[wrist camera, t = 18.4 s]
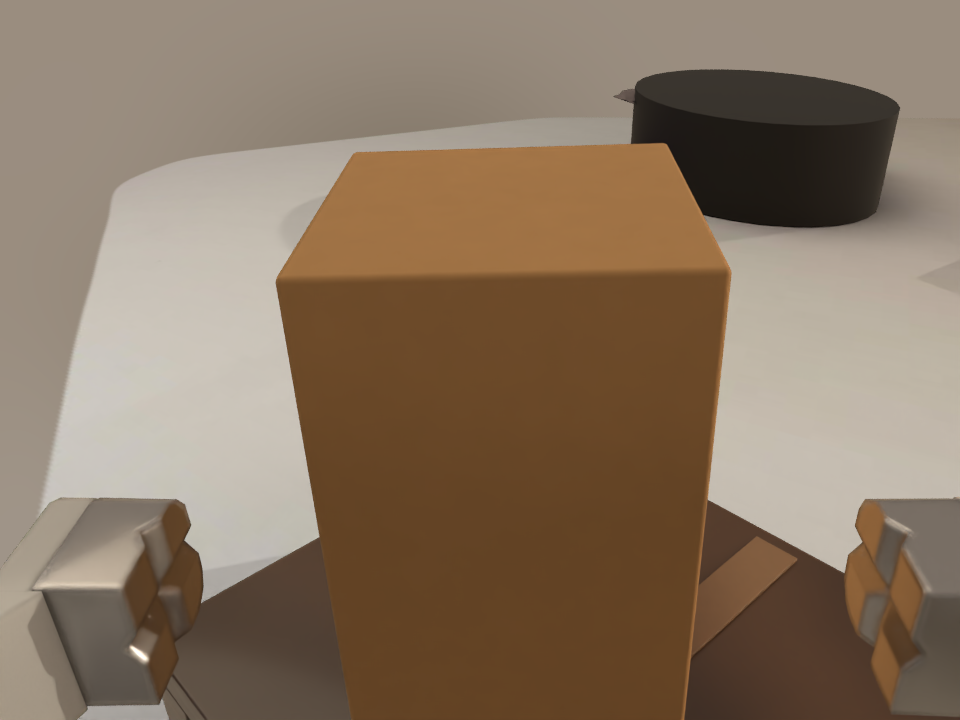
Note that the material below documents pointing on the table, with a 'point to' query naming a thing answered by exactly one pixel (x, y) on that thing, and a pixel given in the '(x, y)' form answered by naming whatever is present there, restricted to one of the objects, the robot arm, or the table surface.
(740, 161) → the dark disc with wedge
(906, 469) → the table surface
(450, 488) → the boot
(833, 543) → the table surface
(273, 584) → the dark wood plinth
